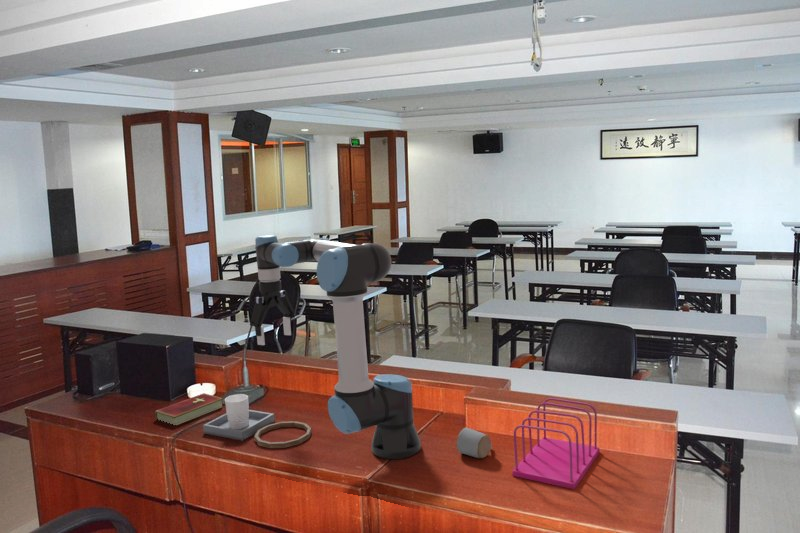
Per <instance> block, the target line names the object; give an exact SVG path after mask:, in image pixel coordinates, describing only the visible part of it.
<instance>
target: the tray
mask: <svg viewBox="0 0 800 533" xmlns="http://www.w3.org/2000/svg"><path fill="white" fill-rule="evenodd" d="M275 419H276V418H275V413H271V412H265V411H259V410H253V409H249V425H248V426H247V427H245V428H242V429H231V428H229V422H228V418H227V412H226V413H223V414H222V415H220V416H218V417H217V418H214V419H213V420H210V421H209V422H206V423H205V424H203V425H202V427H203V428H202V429H203V434H206V435H210V436H216V437H220V438H226V439H231V440H235V441H242V442H243V441H245V440H246V438H247V439H248V438H249V437H252V436H254V435H255V434H256V433H257V431H258V430H259V429H261V428H263V427H265V426H267V425H270V424H274V423H276V420H275Z"/></svg>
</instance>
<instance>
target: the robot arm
mask: <svg viewBox="0 0 800 533" xmlns="http://www.w3.org/2000/svg"><path fill="white" fill-rule="evenodd" d="M254 243H255V247H254V248H255V256H256V265H257V266H256V267H257V276H258V280H259V282H258V289H259V292H260V294H261V297H259V296H256V297H254V306H253V309H252V313H251V318H250V322H249V326H250V327H254V330H255V331H254V332H255V336H256V339H257V340H256V342H257V345H258V346H265V345H266V342H265V332H264V326H263V323H264V320H265V318H266V316H267V313H268V311H269V310H270V309H271V308H273V307H276V308H277V309H278V310H279V311H280V312H281V314H283V317H282V323H283V335H284V336H292V330H291V329H292V328H291V325H292V319H291V318H293V317H294V314H296V313H295V309H294V308H293V305H292V303H291V301H290V299H289V296H288V292H287V290H284V289H283V290H282V280H280V279H281V267H282V268H286V267H288V268H290V267H293V266H294V265H295V264H297V265H298V264H302V263H310V262H317V265H316V279H317V282H318V283H319V284H318V285H319V287H320V288H321V290H323V291H325V292H326V297H328V298H329V300H331V301H332V307H333V308H332V311H333V320H334V334H335V335H334V336H335V344H336V359H337V373H338V381H337V383H336V384H335V385H334V395H332V396H331V397H330V398H329V399H328V401H327V410H328V411H327V412H328V414H329V418H330V420H331V422H332V423H333V425H334V426H335V427H336V429H337V430H338V431H340V433H342V434H345V435H349V434H350V435H351V434H352V433H359V432H361V431H363V430H365V429H368V428H371V427H374V426H375V429H374V433H373V436H372V440H371V452H372V453H373V455H375V456H376V457H379V458H381V459H387V460H402V459H405V458H409V457H412V456H415V455H416V454H418V453H419V452H420V450H421V439H420V437H419V433H418V431H417V429H416V426H415V424H414V423H415V422H414V404H413V393H414V392H413V387H412V381H411V380H410V379H409V378H408V377H406V376H403V375H400V374H391V373H390V374H388V373H387V374H385V373H384V374H378V375H375V376H374V377H373V378H372V379H373V380H371V379H370V378H369V369H368V367H369V365H368V354H367V342H366V339H367V338H366V328H365V327H366V326H365V312H364V304H363V303H364V301H363V300H364V297H366V295H367V294H368V285H370V284H373V283H377V282H380V281H381V280H383V279H384V278H385V277H387V275H388V274H389V272H390V270H391V268H392V267H391V266H392V257H391V254H390V252H389V251H388V249H387V248H386V247H385V246H383V245H382V244H379V243H373V242H372V243H370V242H366V243H362V244H354V243H346V242H338V241H331V240H330V239H329V238H327V237H315V238H311V239H304V240H296V241H286V242H279V241H278V237H277V235H275V234H274V235H273V234H267V235H266V234H265V235H258V236H257V237H256V238H255V242H254Z"/></svg>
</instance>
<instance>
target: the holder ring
mask: <svg viewBox="0 0 800 533" xmlns="http://www.w3.org/2000/svg"><path fill="white" fill-rule="evenodd" d="M289 427H290V428H291V427H293V428H294V427H295V428H298V429H303V430H305V431H306V433H305V434H303V435H301V436H300V437H298V438H295V439H291V440H286V441H275V442H273V441H272V442H270V441H267V440H264V439H263V440H262V439H261V438H260V437H261V436H262V435H263V434H265V433H267V432H269V431H270V430H275V429H279V428H289ZM311 435H312V428H311V427H310V426H309V424H307V423H305V422H301V421H296V420H295V421H291V420H290V421H279V422H274V423H272V424H270V425H267V426H265V427H263V428H261V429H259V430H258V431H257V433H255V434H254V435H253V436H254V441H255V443H256V442H257V443H256V444H257V445H258V446H259V447H264V448H268V449H282V448H283V449H284V448H289V447H293V446H297V445H300V444H302V443H304V442H305V441H307V440H309V439H310V437H311Z"/></svg>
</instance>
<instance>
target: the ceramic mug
mask: <svg viewBox="0 0 800 533" xmlns="http://www.w3.org/2000/svg"><path fill="white" fill-rule="evenodd" d="M492 448H493V444H492V441H491V438H490V437H489V435H488V434H485V433H483V432H480V431H478V430H475V429H472V428H469V427H463V429H461V430H460V432H459V434H458V435H457V440H456V449H457V451H458V452H459V453H460V454H464V455H467V456H468V457H469V456H470V457H474V458H476V459H484V458H485V457H486V458H487V456H488V454H490V451H491V450H492Z"/></svg>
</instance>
